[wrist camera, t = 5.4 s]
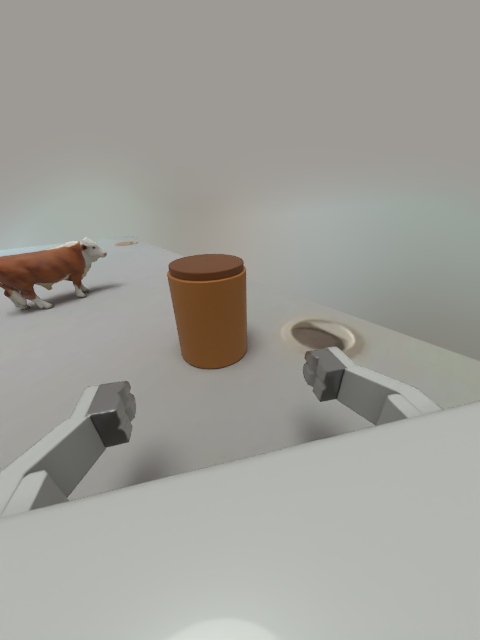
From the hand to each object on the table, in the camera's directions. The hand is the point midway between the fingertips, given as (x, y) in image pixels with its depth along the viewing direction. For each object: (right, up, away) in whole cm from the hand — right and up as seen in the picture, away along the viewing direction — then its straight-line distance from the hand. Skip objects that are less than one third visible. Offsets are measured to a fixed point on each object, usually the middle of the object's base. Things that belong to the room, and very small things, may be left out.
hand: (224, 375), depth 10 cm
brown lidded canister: (-2, 0, +11) cm, 11 cm away
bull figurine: (-25, +6, +23) cm, 34 cm away
